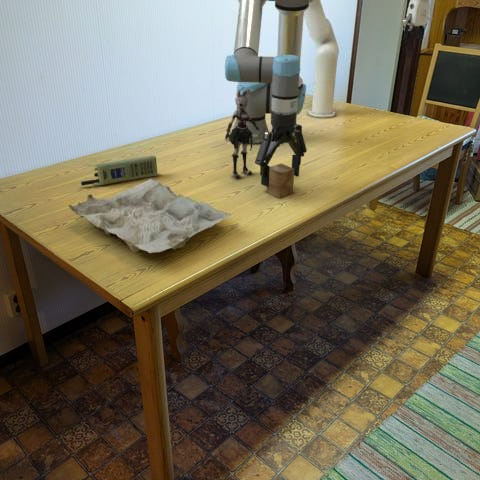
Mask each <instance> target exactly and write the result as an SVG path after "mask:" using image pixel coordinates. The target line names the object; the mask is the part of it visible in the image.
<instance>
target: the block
mask: <svg viewBox="0 0 480 480" xmlns="http://www.w3.org/2000/svg"><path fill="white" fill-rule="evenodd" d="M294 171H295V169H294V168H292V166H289V165H286V164H284V163H277V164H275V165H271V166H270V171H269V186H268V187H265V188H266V189H265V190H266V192H265V193H268V194H270V195H273V196H275V197H277V198H279V199H280V198H284V197H286V196H289V195H291V194H294V184H295V183H294V182H295V176H294Z"/></svg>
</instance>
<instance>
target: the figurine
mask: <svg viewBox="0 0 480 480" xmlns="http://www.w3.org/2000/svg"><path fill="white" fill-rule="evenodd" d="M243 88H244V86H243ZM243 88H241V89H239V90H237V89H236V93H237V96H235V99H234V102H235V106H236V108H237V107H239V108H238V110H237V109H236V110H234V112H233V115H232V117H231V120H230V122H229V123H228V125H227V128H226V129H225V131H226V134H225V135H224V140H225V142H226V143H228V142H230V143H231V145H232V146H233V153H232V154H231V157H232V164H233V170H232V177H233V178H234V179H240V178H241V175H240V174H239V173H238V171H237V168H238V167H237V166H238V165H237V163H238V158H239V152H240V148H241V149H242V150H241V152H240V155H242V157H241V158H242V161H243V165H242V166H243V167H242V173H244V174H246V175H252V172H251V170H249V168H248V167H247V154H248V150H247V149H248V145H250V148H249V151H250V152H251V151H252V149H253V145H255V144H254V143H253V144H252V142H253V140H252V138H253V136H252V134H253V133H252V132H251V131H250V130H249V129H248V126H247V125H246V121H247V120H249V122H250V123H252V124H253V125H254V126H255V128H256V131H257V132H258V133H260V129H259V128H258V126H257V125H256V122H255V121H253V120H252V118H250V116H249V114H248V112H247V110H246V109H245V108H246V107H247V101H248V99H247V97H246V94H247V92H248V93H249V94H250V95H252V93H251V91H250V90H248V89H246V90H244V91H243V93H242V95H240V91H241V90H242V89H243ZM236 118H237V121H238V122H239V123H238V125H237V126H236V127H235V128H234V127H233V123H234V122H235V121H236ZM232 127H233V128H234V129H233V128H232ZM249 139H250V144H249ZM241 142H242V143H241Z"/></svg>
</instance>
